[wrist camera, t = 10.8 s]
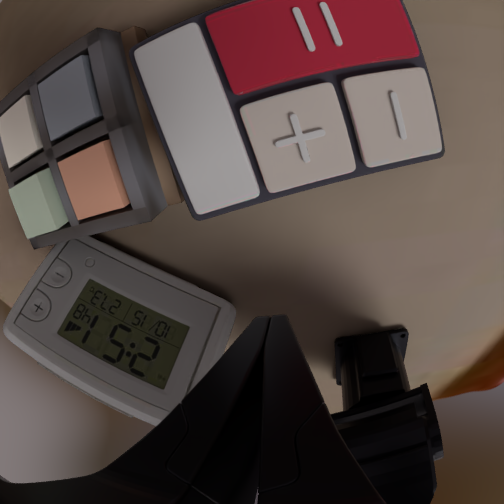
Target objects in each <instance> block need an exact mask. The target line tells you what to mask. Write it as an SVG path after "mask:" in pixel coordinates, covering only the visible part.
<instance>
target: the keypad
mask: <svg viewBox="0 0 504 504" xmlns="http://www.w3.org/2000/svg"><path fill="white" fill-rule="evenodd" d="M145 39H147V36H146V31H145V29H142V28H139V27H136V26H133V27H131V28H129V29H127V30H125V31H123V32H121V33H120V32H116V31H111V30H107V29H102V28H96V29H94V30H93V31H91V32H89V33H88V34H86V35H84V36H83V37H81V38H80V39H78V40H77V41H75V42H74V43H72V44H71V45H69V46H68V47H66V48H65V49H63V50H62V51H60V52H59V53H58V54H56V55H55V56H54V57H52V58H51V59H49V60H48V61H47V62H46V63H44V64H43V65H42V66H40V67H39V68H38V69H37V70H35V71H34V72H33V73H32V74H30V75H29V76H28V77H27V78H26V79H24V80H23V81H22V82H21V83H20V84H19V85H18V86H16V87H15V88H14V89H13V90H12V91H11V92H10V93H9V94H8V95H7V96H6V97H5V98H3V99H2V100H1V101H0V117H1V116H2V115H3V114H4V113H5V112H6V111H7V110H9V109H10V108H11V107H12V106H13V105H14V104H15V103H17V102H18V101H19V100H20V99H21V98H22V97H24V96H26V95H31V100H32V104H33V109H34V113H35V118H36V122H37V126H38V130H39V133H40V137H41V141H42V144H43V148H44V150H43V151H42V152H40V153H39V154H37V155H35V156H34V157H32V158H30V159H29V160H27V161H24V162H22V163H20V164H17V165H15V166H13V167H11V168H9V166H8V163H7V159H6V156H5V152H4V148H3V145H2V141H1V137H0V160H1V163H2V167H3V170H4V173H5V176H6V180H7V183H8V186H9V189H11V188H12V187H14V186H16V185H17V184H19V183H21V182H22V181H24V180H26V179H27V178H29V177H31V176H33V175H34V174H36V173H38V172H40V171H43V170H45V169H47V168H50V171H51V174H52V177H53V180H54V183H55V185H56V188H57V191H58V194H59V197H60V199H61V202H62V205H63V207H64V210H65V212H66V215H67V217H68V220H69V221H68V222H67V223H66V224H64V225H63V226H61V227H60V228H59V229H57V230H54V231H51V232H48V233H45V234H41V235H38V236H35V237H32V238H29V240H30V242H31V244H32V246H33V249H38V248H42V247H45V246H49V245H53V244H57V243H61V242H65V241H69V240H73V239H77V238H81V237H85V236H89V235H93V234H97V233H101V232H106V231H110V230H114V229H119V228H123V227H128V226H132V225H137V224H141V223H146V222H151V221H152V220H153V219H154V218H155V217H156V216H157V215H158V214H159V213H160V212H161V211H163V210H164V209H165V208H166V207H167V206H168V205H173V204H178V203H182V202H183V201H184V200H185V199H184V197H183V194H182V192H181V189H180V187H179V185H178V182H177V180H176V177H175V175H174V173H173V170H172V168H171V165H170V163H169V160H168V158H167V155H166V153H165V150H164V148H163V145H162V143H161V140H160V138H159V135H158V133H157V130H156V128H155V125H154V123H153V120H152V117H151V115H150V112H149V110H148V107H147V104H146V102H145V99H144V96H143V94H142V91H141V88H140V86H139V83H138V80H137V77H136V75H135V72H134V69H133V66H132V64H131V61H130V58H129V50H130V49H131V47H133V46H134V45H136V44H137V43H139V42H141V41H143V40H145ZM80 55H89V57H90V62H91V66H92V71H93V76H94V80H95V84H96V89H97V93H98V97H99V101H100V105H101V109H102V112H103V116H104V119H102V120H100V121H97V122H95V123H93V124H91V125H89V126H87V127H85V128H83V129H81V130H79V131H77V132H76V133H74V134H71V135H68V136H65V137H62V138H59V139H56V140H53V141H51V140H50V136H49V132H48V129H47V125H46V121H45V117H44V113H43V108H42V104H41V99H40V95H39V90H38V85H39V84H40V83H41V82H43V81H44V80H45V79H47V78H48V77H49V76H51V75H52V74H54V73H55V72H56V71H58V70H59V69H61V68H62V67H64V66H65V65H67V64H68V63H70V62H71V61H73V60H74V59H76V58H77V57H79V56H80ZM109 139H110V141H111V144H112V148H113V151H114V154H115V157H116V161H117V164H118V167H119V170H120V173H121V176H122V179H123V182H124V185H125V188H126V191H127V194H128V197H129V200H130V202H131V203H129V204H128V205H127V206H125V207H123V208H120V209H116V210H112V211H109V212H105V213H102V214H98V215H94V216H91V217H88V218H84V219H81V220H78V219H77V216H76V214H75V211H74V209H73V206H72V203H71V201H70V198H69V195H68V193H67V190H66V187H65V184H64V181H63V178H62V175H61V172H60V169H59V166H58V162H60V161H62V160H64V159H66V158H68V157H70V156H72V155H74V154H76V153H78V152H80V151H83V150H85V149H87V148H89V147H91V146H93V145H96V144H98V143H100V142H103V141H105V140H109Z"/></svg>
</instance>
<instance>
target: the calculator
mask: <svg viewBox="0 0 504 504" xmlns="http://www.w3.org/2000/svg"><path fill="white" fill-rule="evenodd" d="M129 58H130V61H131V64H132V66H133V69H134V72H135V75H136V77H137V80H138V83H139V86H140V88H141V91H142V94H143V96H144V99H145V102H146V104H147V107H148V110H149V112H150V115H151V117H152V120H153V123H154V125H155V128H156V130H157V133H158V135H159V138H160V140H161V143H162V145H163V148H164V150H165V153H166V155H167V158H168V160H169V163H170V165H171V168H172V170H173V173H174V175H175V177H176V180H177V182H178V185H179V187H180V189H181V192H182V194H183V197H184V199H185V201H186V204H187V206H188V208H189V211H190V213H191V215H192V217H193V218H194V219H196V220H198V221H201V220H205V219H208V218H211V217H215V216H218V215H221V214H224V213H228V212H231V211H234V210H238V209H241V208H245V207H248V206H251V205H255V204H258V203H262V202H265V201H269V200H272V199H276V198H279V197H283V196H287V195H290V194H294V193H297V192H301V191H305V190H309V189H312V188H316V187H320V186H324V185H327V184H331V183H335V182H339V181H343V180H347V179H351V178H355V177H359V176H363V175H367V174H371V173H375V172H380V171H384V170H388V169H393V168H397V167H401V166H406V165H410V164H415V163H419V162H424V161H428V160H433V159H438V158H441V157H442V156H443V155H444V152H445V148H444V141H443V135H442V129H441V124H440V119H439V114H438V109H437V105H436V100H435V96H434V92H433V88H432V84H431V80H430V76H429V73H428V69H427V66H426V63H425V59H424V56H423V53H422V50H421V47H420V44H419V41H418V38H417V35H416V33H415V30H414V27H413V25H412V22H411V20H410V17H409V15H408V12H407V10H406V7H405V5H404V3H403V0H238V1H235V2H232V3H229V4H226V5H223V6H220V7H217V8H214V9H212V10H209V11H206V12H204V13H201V14H199V15H196V16H194V17H191V18H189V19H187V20H184V21H182V22H180V23H178V24H175V25H173V26H171V27H169V28H167V29H165V30H163V31H161V32H159V33H157V34H155V35H153V36H151V37H149V38H147V39H145V40H143V41H141V42H139V43H137V44H136V45H134V46H133V47H131V49H130V50H129Z"/></svg>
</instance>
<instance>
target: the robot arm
mask: <svg viewBox="0 0 504 504" xmlns="http://www.w3.org/2000/svg"><path fill="white" fill-rule="evenodd" d="M408 335H409V334H408V331H407V329H405V328H402V329H396V330H390V331H384V332H378V333H371V334H364V335H357V336H349V337H341V338H337V339H336V340H335V342H334V343H335V361H336V382H337V385H342V398H343V411H342V412H338V413H334V414H330V413H329V410H328V408H327V406H326V404H325V403H324V399H323V397H322V395H321V392H320V390H319V388H318V385H317V383H316V381H315V379H314V376H313V374H312V372H311V369H310V367H309V365H308V363H307V360H306V358H305V356H304V353H303V351H302V349H301V347H300V344H299V342H298V340H297V337H296V335H295V333H294V331H293V328H292V326H291V324H290V322H289V319H288V317H287V315H285V314H283V315H273V316H272V317H270V316H260V317H256V318H255V319H254V320H253V321H252V322H251V323H250V324H249V326H248V327H247V328H246V329H245V330H244V331H243V333H242V334H241V335H240V336H239V337H238V338H237V339H236V341H235V342H234V343H233V344H232V345H231V346H230V347H229V349H228V350H227V351H226V352H225V353H224V354H223V355H222V357H221V358H220V359H219V360H218V361H217V362H216V363H215V364H214V366H213V367H212V368H211V369H210V370H209V371H208V372H207V373H206V374H205V376H204V377H203V378H202V379H201V380H200V381H199V382H198V383H197V384H196V385H195V386H194V388H193V389H192V390H191V391H190V392H189V393H188V394H187V395H186V396H185V397H184V398H183V399H182V401H181V403H182V404H181V403H179V404H178V405H177V406H176V407H175V408H174V409H173V410H172V411H171V412H170V413H169V414H168V415H167V416H166V417H165V418H164V419H163V420H162V421H161V422H160V423H159V424H158V425H157V426H156V427H155V428H154V429H153V430H151V431H150V432H149V433H148V434H147V435H146V436H145V437H143V438H142V439H141V440H140V441H139V442H137V443H136V444H135V445H134V446H132V447H131V448H130V449H129V450H127V451H126V452H125V453H124V454H122V455H121V456H120V457H119V458H117V459H116V460H115V461H114V462H112V463H111V464H109V465H108V466H107V467H105V468H103V469H102V470H100V471H98V472H96V473H94V474H91V475H87V476H83V477H77V478H70V479H63V480H55V481H46V482H36V483H11V482H9V481H8V480H6V479H5V478H3V477H2V476H0V504H254V503H255V498H256V493H257V489H258V493H259V495H258V503H257V504H430V503H431V500H432V498H433V496H434V492H435V490H436V487H437V482H436V474H435V466H434V461H435V460H438V459H441V458H443V457H444V455H443V446H442V439H441V433H440V429H439V425H438V420H437V416H436V412H435V409H434V405H433V402H432V399H431V395H430V392H429V389H428V386H427V383H425V384H422V385H420V387H418V388H415V389H412V390H411V389H410V385H409V381H408V377H407V373H406V369H405V365H404V358H405V353H406V347H407V341H408ZM339 343H341V344H339Z"/></svg>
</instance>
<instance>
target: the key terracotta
mask: <svg viewBox="0 0 504 504" xmlns="http://www.w3.org/2000/svg"><path fill="white" fill-rule="evenodd" d="M58 166H59V169H60V172H61V175H62V178H63V181H64V184H65V187H66V190H67V193H68V195H69V198H70V201H71V203H72V206H73V209H74V211H75V214H76V216H77V219H78V220H81V219H84V218H88V217H91V216H94V215H98V214H102V213H105V212H109V211H112V210H116V209H120V208H123V207H125V206H127V205H128V204H129V203H131V202H130V200H129V197H128V194H127V191H126V188H125V185H124V182H123V179H122V176H121V173H120V170H119V167H118V164H117V161H116V157H115V154H114V151H113V148H112V144H111V141H110V139H109V140H105V141H103V142H100V143H98V144H96V145H93V146H91V147H89V148H87V149H85V150H83V151H80V152H78V153H76V154H74V155H72V156H70V157H68V158H66V159H64V160H62V161H60V162H58Z"/></svg>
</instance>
